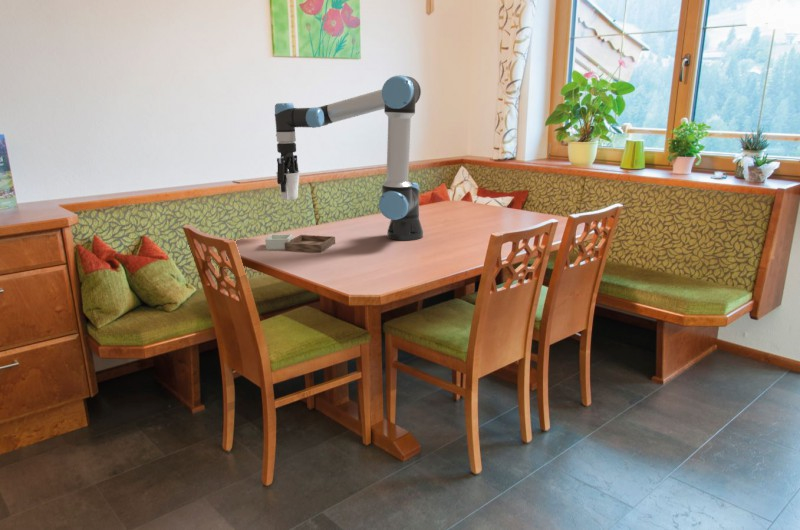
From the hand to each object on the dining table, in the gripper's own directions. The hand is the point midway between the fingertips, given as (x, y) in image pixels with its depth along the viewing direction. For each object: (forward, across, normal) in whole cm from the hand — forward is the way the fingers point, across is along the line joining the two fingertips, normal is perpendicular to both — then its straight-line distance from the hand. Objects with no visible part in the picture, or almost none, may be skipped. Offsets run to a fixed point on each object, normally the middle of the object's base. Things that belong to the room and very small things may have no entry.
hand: (289, 198), depth 251 cm
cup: (0, 0, 0) cm, 0 cm away
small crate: (+17, +15, +2) cm, 23 cm away
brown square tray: (+17, +12, +14) cm, 25 cm away
